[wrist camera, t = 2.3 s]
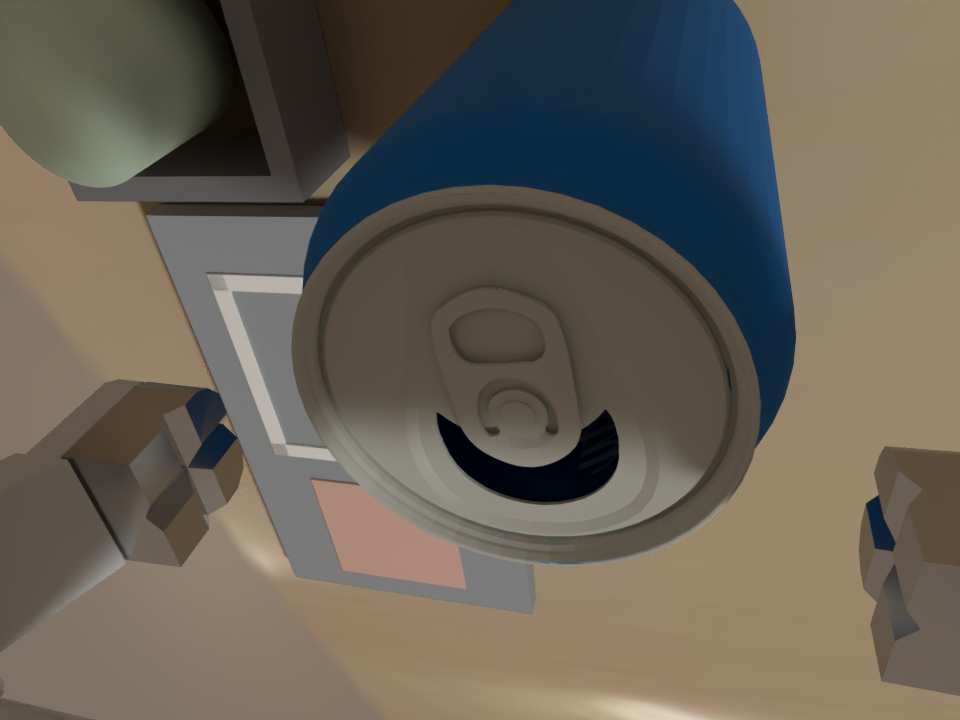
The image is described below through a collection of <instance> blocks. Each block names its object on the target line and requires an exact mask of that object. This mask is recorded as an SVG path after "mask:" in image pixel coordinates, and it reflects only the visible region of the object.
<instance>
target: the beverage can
mask: <svg viewBox="0 0 960 720" xmlns="http://www.w3.org/2000/svg"><path fill="white" fill-rule="evenodd" d="M795 343H796V330H795V317H794V306H793V298H792V291H791V284H790V276H789V269H788V262H787V254H786V247H785V240H784V232H783V225H782V218H781V211H780V203H779V196H778V189H777V181H776V174H775V167H774V159H773V152H772V145H771V137H770V130H769V123H768V115H767V108H766V101H765V94H764V86H763V79H762V72H761V64H760V59H759V55H758V51H757V46H756V42H755V40H754V37H753V35H752V32H751V30H750V27H749V25H748V23H747V21H746V19H745V18H744V16H743V14H742V12H741V11H740V9H739V7H738V6H737V5H736V3H735V2H734V1H733V0H515V1H514V2H513V3H512V4H511V5H510V6H509V7H508V8H507V9H506V10H505V11H504V12H503V13H502V14H501V15H500V16H499V17H498V18H497V19H496V20H495V21H494V22H493V23H492V24H491V25H490V26H489V27H488V28H487V29H486V30H485V31H484V32H483V34H482V35H481V36H480V37H479V38H478V39H477V40H476V41H475V42H474V43H473V44H472V45H471V46H470V47H469V48H468V49H467V50H466V51H465V52H464V53H463V54H462V55H461V56H460V57H459V58H458V59H457V60H456V61H455V62H454V63H453V64H452V65H451V66H450V67H449V68H448V69H447V70H446V71H445V72H444V73H443V75H442V76H441V77H440V78H439V79H438V80H437V81H436V82H435V83H434V84H433V85H432V86H431V87H430V88H429V89H428V90H427V91H426V92H425V93H424V94H423V95H422V96H421V97H420V98H419V99H418V100H417V101H416V102H415V103H414V104H413V105H412V106H411V107H410V108H409V109H408V110H407V111H406V112H405V113H404V114H403V116H402V117H401V118H400V119H399V120H398V121H397V122H396V123H395V124H394V125H393V126H392V127H391V128H390V129H389V130H388V131H387V132H386V133H385V134H384V135H383V136H382V137H381V138H380V139H379V140H378V141H377V142H376V143H375V144H374V145H373V146H372V147H371V148H370V149H369V150H368V151H367V152H366V153H365V154H364V155H363V157H362V158H361V159H360V160H359V161H358V162H357V163H356V164H355V165H354V166H353V167H352V168H351V169H350V171H349V172H348V173H347V174H346V175H345V176H344V177H343V179H342V180H341V181H340V182H339V183H338V184H337V185H336V187H335V189H334V190H333V192H332V194H331V195H330V197H329V198H328V200H327V202H326V203H325V205H324V207H323V208H322V210H321V213H320V215H319V218H318V220H317V222H316V225H315V227H314V230H313V232H312V235H311V238H310V241H309V245H308V250H307V254H306V259H305V263H304V272H303V287H302V294H301V297H300V299H299V302H298V304H297V308H296V313H295V317H294V322H293V326H292V343H291V352H292V362H293V372H294V376H295V380H296V384H297V388H298V392H299V395H300V398H301V400H302V403H303V405H304V408H305V410H306V413H307V415H308V417H309V419H310V421H311V423H312V425H313V427H314V428H315V430H316V432H317V434H318V436H319V437H320V439H321V440H322V442H323V443H324V444H325V446H326V447H327V449H328V450H329V452H330V453H331V454H332V456H333V457H334V458H335V459H336V461H337V462H338V463H339V464H340V465H341V466H342V467H343V469H344V470H345V471H346V472H347V473H348V474H349V475H350V476H351V477H352V478H353V479H354V480H355V481H356V482H357V483H358V484H359V485H360V486H361V487H362V488H363V489H364V490H365V491H366V492H368V493H369V494H370V495H371V496H373V497H374V498H375V499H376V500H378V501H379V502H380V503H381V504H383V505H384V506H385V507H386V508H388V509H389V510H391V511H392V512H394V513H395V514H397V515H398V516H400V517H401V518H403V519H404V520H406V521H408V522H409V523H411V524H413V525H415V526H417V527H418V528H420V529H422V530H424V531H426V532H427V533H429V534H431V535H434V536H436V537H438V538H440V539H443V540H445V541H447V542H449V543H451V544H454V545H457V546H460V547H462V548H465V549H468V550H471V551H473V552H476V553H480V554H484V555H487V556H491V557H495V558H498V559H503V560H508V561H513V562H519V563H524V564H532V565H542V566H558V567H580V566H593V565H603V564H609V563H615V562H621V561H626V560H630V559H633V558H637V557H640V556H644V555H647V554H650V553H653V552H655V551H658V550H660V549H663V548H665V547H668V546H670V545H672V544H674V543H676V542H678V541H679V540H681V539H683V538H685V537H687V536H688V535H690V534H692V533H693V532H695V531H696V530H697V529H699V528H700V527H701V526H703V525H704V524H705V523H707V522H708V521H709V520H711V519H712V518H713V517H714V516H715V515H716V514H717V513H718V512H719V511H720V510H721V509H722V508H723V506H724V505H725V504H726V503H727V502H728V501H729V500H730V498H731V497H732V496H733V494H734V493H735V491H736V490H737V488H738V487H739V485H740V484H741V483H742V481H743V478H744V476H745V474H746V472H747V470H748V468H749V465H750V463H751V461H752V458H753V454H754V450H755V448H756V447H757V445H758V444H759V442H760V441H761V439H762V438H763V436H764V435H765V433H766V432H767V431H768V429H769V428H770V426H771V425H772V423H773V421H774V419H775V417H776V415H777V412H778V410H779V408H780V406H781V404H782V402H783V400H784V397H785V394H786V391H787V387H788V383H789V380H790V376H791V372H792V369H793V364H794V353H795Z"/></svg>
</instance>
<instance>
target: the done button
mask: <svg viewBox="0 0 960 720" xmlns="http://www.w3.org/2000/svg"><path fill="white" fill-rule="evenodd" d="M232 88H233V66H232V59H231V55H230V51H229V47H228V45H227V42H226V39H225V36H224V34H223V32H222V30H221V28H220V26H219V24H218V22H217V21H216V19H215V17H214V15H213V14H212V12H211V11H210V10H209V8H208V7H207V5H206V4H205V3H204V2H203V1H202V0H0V124H1V126H2V127H3V128H4V130H5V131H6V132H7V133H8V135H9V136H10V137H11V138H12V139H13V140H14V142H15V143H16V144H17V145H18V146H19V147H20V148H21V149H22V150H23V151H24V152H25V153H26V154H27V155H29V156H30V157H31V158H32V159H33V160H35V161H36V162H37V163H38V164H40V165H41V166H43V167H44V168H46V169H47V170H49V171H50V172H52V173H54V174H55V175H57V176H59V177H61V178H63V179H66V180H68V181H70V182H73V183H76V184H79V185H83V186H88V187H97V188H104V187H112V186H116V185H119V184H121V183H123V182H126V181H127V180H129V179H130V178H132V177H133V176H135V175H136V174H138V173H139V172H141V171H142V170H144V169H145V168H147V167H148V166H150V165H151V164H153V163H154V162H156V161H157V160H159V159H160V158H162V157H164V156H165V155H167V154H168V153H170V152H171V151H173V150H174V149H176V148H177V147H179V146H180V145H182V144H183V143H185V142H186V141H188V140H189V139H191V138H192V137H194V136H195V135H197V134H198V133H200V132H201V131H203V130H204V129H206V128H207V127H209V126H210V125H212V124H213V123H215V122H216V121H217V120H218V119H219V118H220V117H221V116H222V114H223V113H224V111H225V110H226V108H227V106H228V103H229V101H230V98H231V94H232Z"/></svg>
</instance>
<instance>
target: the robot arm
mask: <svg viewBox="0 0 960 720" xmlns="http://www.w3.org/2000/svg"><path fill="white" fill-rule="evenodd" d="M227 413H228V412H227V410H226V408H225V406H224V403H223V401H222V399H221V397H220V394H219V393H217V392H215V391H212V390H210V389H208V388H199V387H190V386H181V385H172V384H163V383H154V382H139V381H130V380H121V379H118V380H114V381H110V382H106V383H104V384H103V385H102V386H101V387H100V388H99V389H97V390H96V391H95V392H94V393H93V394H92V395H91V396H90V397H89V398H87V399H86V400H85V401H84V402H83V403H82V404H81V405H80V406H79V407H77V408H76V409H75V410H74V411H73V412H72V413H71V414H70V415H69V416H68V417H66V418H65V419H64V420H63V421H62V422H61V423H60V424H59V425H58V426H56V427H55V428H54V429H53V430H52V431H51V432H50V433H49V434H47V435H46V436H45V437H44V438H43V439H42V440H41V441H40V442H39V443H38V444H36V445H35V446H34V447H33V448H32V449H31V450H30V451H29V452H27V454H18V453H17V454H13V455H11V456H9V457H7V458H5V459H2V460H0V652H1V651H3V650H4V649H5V648H7V647H8V646H10V645H11V644H13V643H14V642H15V641H17V640H18V639H20V638H21V637H23V636H24V635H25V634H27V633H28V632H29V631H31V630H32V629H34V628H35V627H37V626H38V625H39V624H41V623H42V622H44V621H45V620H47V619H48V618H49V617H51V616H52V615H54V614H55V613H57V612H58V611H59V610H61V609H62V608H64V607H65V606H66V605H68V604H69V603H71V602H72V601H73V600H75V599H76V598H78V597H79V596H81V595H82V594H83V593H85V592H86V591H88V590H89V589H91V588H92V587H93V586H95V585H96V584H97V583H99V582H100V581H102V580H103V579H105V578H106V577H107V576H109V575H110V574H112V573H113V572H115V571H116V570H117V569H119V568H120V567H122V566H123V565H125V564H126V561H125V560H131V561H139V562H147V563H154V564H162V565H170V566H177V567H182V565H183V564H184V562H185V561H186V560H187V558H188V557H189V555H190V554H191V553H192V551H193V550H194V549H195V547H196V546H197V545H198V543H199V542H200V541H201V539H202V538H203V536H204V535H205V534H206V532H207V531H208V530H209V519H208V515H209V514H211V513H212V512H214V511H216V510H218V509H219V508H221V507H223V506H224V505H226V504H227V503H228V502H229V500H230V499H231V497H232V496H233V494H234V493H235V491H236V490H237V489H238V486H239V482H240V479H241V475H242V471H243V468H244V467H243V453H242V449H241V447H240V444H239V441H238V438H237V437H236V436H235V435H234V434H233V433H232V432H231V431H230V430H228V429H227V428H226V427H225V426H224V425H223V422H224V420H225V418H226V415H227ZM874 476H875V480H876V485H877V489H878V494H879V495H878V496H876V497H875V498H873V499H872V500H870V501H869V502H867V503H866V505H865V510H864V514H863V518H862V523H861V529H860V542H859V558H860V570H861V576H862V582H863V588H864V590H865V591H866V592H867V593H868V594H869V595H870V596H871V597H872V598H873V599H874V600H875V601H876V602H877V604H876V607H875V611H874V614H873V617H872V620H871V624H870V625H871V630H872V635H873V640H874V646H875V651H876V656H877V661H878V666H879V671H880V676H881V681H883V682H889V683H894V684H900V685H905V686H910V687H916V688H921V689H926V690H932V691H937V692H942V693H948V694H953V695H958V696H960V452H952V451H940V450H927V449H914V448H902V447H889V446H885V447H884V449H883V451H882V452H881V454H880V456H879V458H878V462H877V465H876V469H875V472H874ZM3 693H4V682H3V681H2V679H1V678H0V720H94V719H89V718H85V717H81V716H77V715H72V714H68V713H64V712H60V711H56V710H51V709H47V708H43V707H39V706H35V705H30V704H26V703H22V702H18V701H13V700H9V699H5V698H1V696H2V695H3Z"/></svg>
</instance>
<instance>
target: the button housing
mask: <svg viewBox="0 0 960 720" xmlns="http://www.w3.org/2000/svg"><path fill="white" fill-rule="evenodd" d="M220 3H221V6H222V10H223V13H224V17H225V20H226V23H227V27H228V30H229V34H230V37H231V40H232V44H233V47H234V51H235V54H236V57H237V61H238V64H239V68H240V71H241V74H242V78H243V81H244V84H245V88H246V91H247V95H248V98H249V101H250V105H251V108H252V112H253V115H254V118H255V122H256V125H257V129H258V132H259V134H247V135H203V136H194V137H192V138H191V139H189V140H188V141H186V142H185V143H183V144H182V145H180V146H179V147H177V148H176V149H174V150H173V151H171V152H170V153H168V154H167V155H165V156H164V157H162V158H160V159H159V160H157V161H156V162H154V163H153V164H151V165H150V166H148V167H147V168H145V169H144V170H142V171H141V172H139V173H138V174H136V175H135V176H133V177H132V178H130V179H129V180H127V181H126V182H123V183H121V184H119V185H116V186H112V187H104V188H97V187H88V186H83V185H79V184H76V183H73V182H70V181H68V182H69V184H70V186H71V188H72V190H73V192H74V195H75V197H76V199H77V201H147V202H305V201H306V200H307V199H308V198H309V197H310V196H311V195H312V194H313V193H314V192H315V191H316V190H317V189H318V188H319V187H320V186H321V185H322V184H323V183H324V182H325V181H326V180H327V179H328V178H329V177H330V176H331V175H332V174H333V173H334V172H335V171H336V170H337V169H338V168H339V167H340V166H341V165H342V164H343V163H344V162H345V161H346V160H347V159H348V158H349V157H350V154H349V150H348V145H347V141H346V136H345V132H344V127H343V123H342V118H341V114H340V110H339V105H338V101H337V96H336V92H335V87H334V83H333V78H332V74H331V69H330V65H329V61H328V56H327V52H326V47H325V43H324V38H323V34H322V29H321V25H320V20H319V16H318V12H317V7H316V3H315V0H220Z"/></svg>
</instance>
